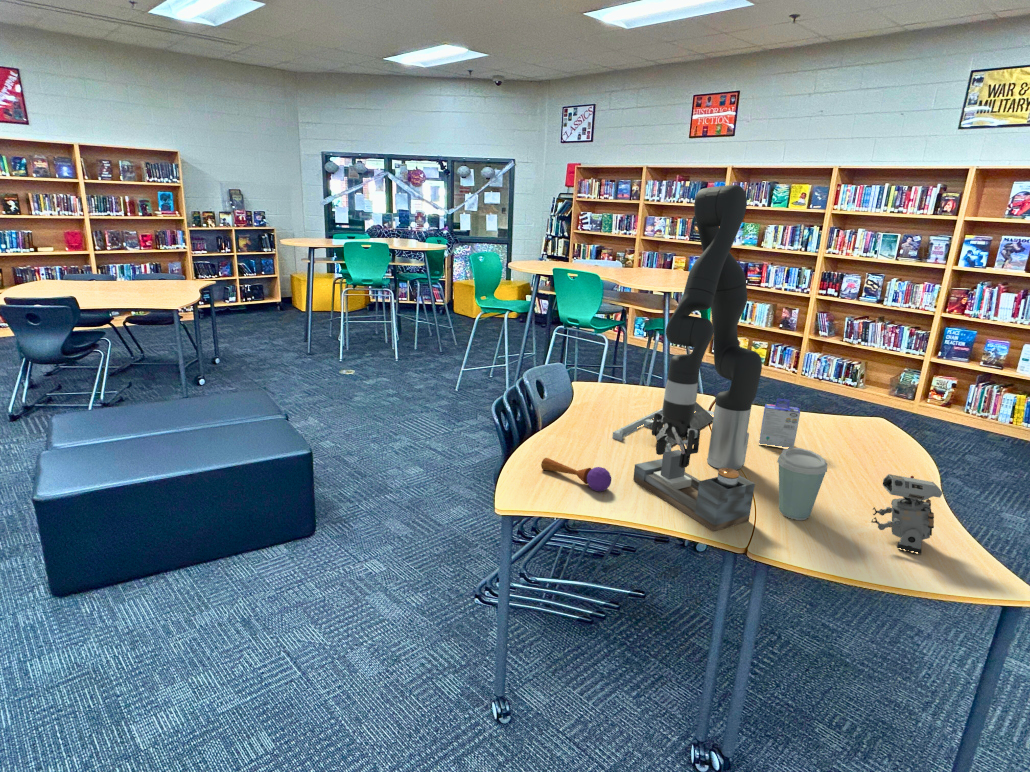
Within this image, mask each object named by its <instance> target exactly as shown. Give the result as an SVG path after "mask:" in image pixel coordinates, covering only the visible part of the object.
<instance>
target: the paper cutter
mask: <svg viewBox="0 0 1030 772" xmlns="http://www.w3.org/2000/svg"><path fill="white" fill-rule="evenodd" d="M662 409H663V407H661V408H660V409H658V410H656V411H654V412H651V413H650V414H648V415H645V416H643V417H641V418H640V419H637V420H635V421H633V422H631V423H628V424H627V425H625V426H623V427H620V428H619V429H617V430H614V431H612V439H614V440H616V441H621V442H622V441H623V440H624V439H623V438H624V437H626V436H628V435H630V434H632V433H634V432H637V431H638V430H639V429H637V427H639V426H641V425H643V424H644V427H643V428H647V427H648V429H651V431H652V427H653V421H654V419H653V418H654V416H655V414H656V413H662ZM695 411H696V412H695V413H694V418H693V419H692V420H691V422H690V426H691V428H692V429H699V430H701V428H704V427H705V426H707V425H709V424H710V423H712V422H713V421H712V420H713V417H712V416H711V415H712V414H713V415H714V411H713V410H707V409H705V408H704V407H702V406H701V405H700V403H698V402H697V401H696V405H695ZM710 414H711V415H710ZM651 419H653V420H651ZM711 421H712V422H711ZM657 430H658V427H657ZM665 440H666V446H665V452H669V451H672V446H674V445H675V444H677V442H676V440H674V439H673V438H672V437H667V438H666V439H665ZM681 440H682V441H683V439H681Z"/></svg>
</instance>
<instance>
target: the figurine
mask: <svg viewBox="0 0 1030 772" xmlns="http://www.w3.org/2000/svg"><path fill="white" fill-rule="evenodd" d="M914 477H915V476H914V475H911V476H910V477H909V476H908V477H907V476H906V477H905V476H903V475H897V474H891V473H888V474H887V475H886V476H885V477H884V478H883V480H882V486H883V488H884V489H885V490H886V491H887V493H889V494H890V495H891V496H897V497H899V498H894V499H892V500H891V502H890V503H891V504H890V505H891V506H886V507H885V508H884V509H883V508H880V509H879V510H877V509H876V507H873V508H872V510H874V513H872V515H873V516H875V515H877V514H879V515H880V516H885V514H891V520H888V521H886V522H884V523H883V522H882V523H880V522H879V521H878V519H877V517H876V516H875V517H874V518H872V520H871V522H870V523H872V524H873V523H874V524H875V523H876V524H877V528H878V529H879V530H880V531H884V530H885V529H889V528H891V533H892V534H891V535H893V536H896V537H898V538H900V540H899V541H898V542H897V545H896V548H901V549H905V550H909V551H914V552H918V553H921V554H922V543H923V542H922V541H924V540H927V539H930V538H931V536H932V535H933V529H934V527H935V525H934V524H935V520H934V519H935V513H934V512H933V511H932V508H931V507H932V500H931V499H930V498H933V497H935V498H941V497H942V495H943V491H942V489H940V487H939V486H938V485H937V483H935V482H934V481H929V480H925V479H920V478H914ZM901 497H902V498H901ZM873 520H875V521H873ZM909 551H908V552H909Z"/></svg>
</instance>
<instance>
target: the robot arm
mask: <svg viewBox="0 0 1030 772" xmlns="http://www.w3.org/2000/svg"><path fill="white" fill-rule="evenodd" d="M694 197H695V198H694V201H693V202H694V203H693V205H694V206H693V211H694V217H695V218H694V219H695V223H696V227H697V228H696V229H697V232H698V237H699V239H700V246H701V249H702V253H701V254H700V255H699V257H698V258H697V259H696V260H695V262H694V263H693V265H692V266H691V268H690V270H689V273H688V275H687V279H686V282H685V287H684V291H683V294H682V297H681V300H680V301H679V303H678V305H677V307H676V309H675V310H674V312H673V313H672V315H671V317H670V318H669V321H668V322H667V324H666V327H665V336H666V339H667V341H668V343H670V344H672V345H675V346H683V347H688V348H689V347H690V348H693V349H692V351H691V353H686V354H675V355H672V356H671V357H670V360H669V364H668V365H669V367H668V373H667V381H666V384H665V389H664V396H663V403H662V408H663V409H662V408H661V409H662V413H656V414H655V416H654V419H653V420H654V421H653V427H652V430H651V435H652V436H655V439H656V446H655V447H656V448H655V454H656V455H658V456H663V453H664V452H665V448H666V445H667V444H666V440H665V439H666V438H667V437H672V438H673V439H674V440H676V442H677V443H676V445H678V446H679V448H680V449H679V450H680V451H681V452H682V453H681V455H680V462H679V467H681V468H685V469H686V468H687V467H688V466H689V465H690V461H691V455H694V454H698V453H699V449H700V448H699V447H700V436H701V429H692V428H691V426H690V422H691V420H692V419H693V418H694V412H695V405H696V402H697V397H698V390H699V389H698V382H699V377H700V371H701V370H700V369H701V365H702V362H703V359H704V357H705V353H706V351H707V349H708V347H709V345H710V343H711V341H712V339H713V362H714V369H715V371H716V372H717V375H718V376H720V377H722V378H724V379H726V380H728V381H731V382H730V385H729V386H730V387H729V390H725V391H720V392H718V393H717V394H716V396H715V404H714V411H713V412H714V417H713V421H712V423H711V424H712V425H711V431H710V432H711V433H710V437H709V446H708V453H707V464H708V465H709V466H711V467H714V468H715V469H718V470H719V469H721V468H730V469H734V470H736V471H738V470H737V469H739V470H740V469H741V468H742V467H743V466H745V462H746V457H747V451H748V444H749V437H750V433H749V432H748V429H749V423H750V417H751V410H752V405H753V402H754V401H755V399H756V396H757V393H758V390H759V384H760V379H761V377H762V376H761V375H762V370H763V369H762V368H763V360H762V356H760V354H759V353H758V352H757V351H755V350H751V349H748V348H746V347H742V346H741V345H740V343H739V337H738V325H739V321H740V319H741V317H742V315H743V314H744V311H745V309H746V306H747V302H748V289H747V279H746V274H745V272H744V270H743V267H741V265H740V264H739V263H738V261H737V260H736V258H735V257H734V255H732V253H731V252H730V251H731V249H732V247H733V244H734V242H735V239H736V238H737V235H738V232H739V230H740V228H741V226H742V223H743V221H744V218H745V214H746V211H747V205H748V204H747V203H748V201H747V200H748V199H747V194H746V191H745V189H744V188H743V187H742V186H740V185H737V184H729V185H720V186H711V187H704V188H701V189H699V190H698V192H697V193H696V195H695V196H694ZM709 309H710V312H711V313H710V314H711V320H710V319H709V318H705V317H697V316H692V315H691V314H692V313H694V312H697V311H698V312H699V311H706V310H709ZM657 427H658V430H657ZM681 439H682V440H681ZM683 439H684V440H683ZM742 465H743V466H742Z"/></svg>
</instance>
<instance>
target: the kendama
mask: <svg viewBox="0 0 1030 772" xmlns="http://www.w3.org/2000/svg"><path fill="white" fill-rule="evenodd" d="M540 466H541V469H542V470H543V471H550V472H556V473H560V474H561V473H562V474H568V475H575V476H577V478H579V480H581V481H582V482H583V483H584V484H585V485H588V486H589V488H590V489H591V490H593V491H595V492H604V491H607V489H608V488H609V487H610V486H611V485H612V484H611V483H612V476H611V473H610V472H609V471H608V469H606V468H605V467H601V466H596V467H593V468H591V467H587V468H583V469H578V470H577V469H574V468H572V467H569V466H567V465H566V464H565V465H564V464H563V463H561V462H558V461H555V460H553V459H552V458H549V457H544V458H543V459H542V461H541V465H540Z"/></svg>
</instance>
